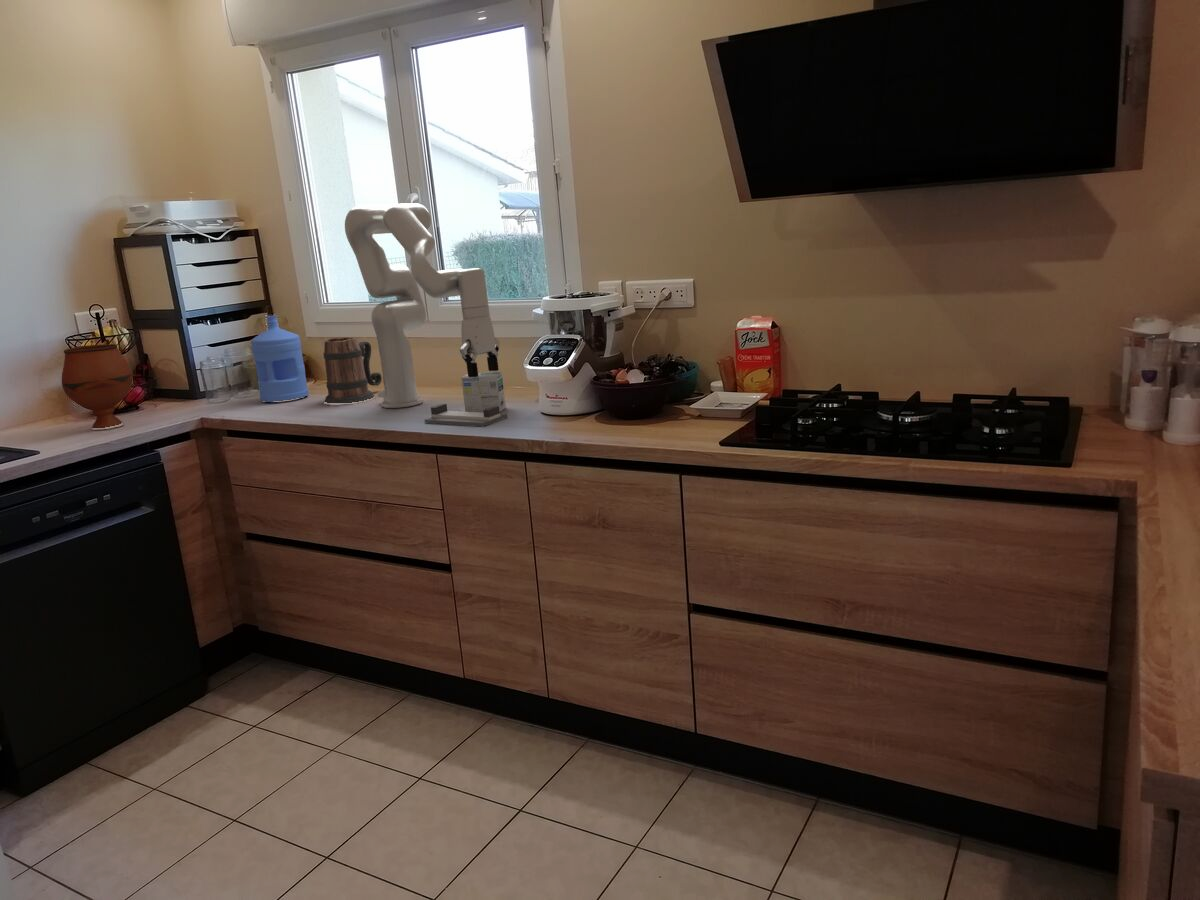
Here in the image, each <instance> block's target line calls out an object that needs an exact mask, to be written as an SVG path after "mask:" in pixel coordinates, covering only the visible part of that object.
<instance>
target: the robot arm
mask: <svg viewBox="0 0 1200 900" xmlns="http://www.w3.org/2000/svg"><path fill="white" fill-rule="evenodd" d="M430 214H431V213H430V212H429V210H428V209H427V208H426V207H425V205H423V204H420V203H417V202H416V203H414V202H413V203H411V202H410V203H393V204H392V203H389V204H387V203H384V204H382V203H381V204H361V205H358V206H355V207H353V208H351V209H350V210H349V211H348V213H347V214H346V216H345V220H344V231H345V236H346V239H347V242H348V243H349V245H350V248H351V250H352V252H353V253H354V255H355V259H356V261H357V265H358V268H359V270H360V274H361V276H362V280H363V283H364V285H365V288H366V291H367V293H368V295H370V297H372V298H374V299H385V298H386V299H388V298H394V297H395V298H396V299H395V300H388V301H383V302H380V303H378V304H377V305H376V306H374V307H373V309H372V311H371V318H370V319H371V324H372V326H373V330H374V333H375V335H376V339H377V340H376V341H377V344H378V350H379V357H380V363H381V364H380V365H381V370H382V371H381V373H382V378H383V379H382V381H383V386H384V390H380V391H379V392H378V393H377V398H383V399H382V402H381V407H382V408H386V409H400V408H401V409H402V408H409V407H413V406H418V405H420V404H422V403H423V401H424V399H423V397H421V396H418V392H417V383H416V375H415V367H414V359H413V352H412V345H411V343H410V340H409V339H408V337H407V335H405V332H407V331H412V330H416V329H420V328H421V327H422V326H423V325H424V324H425V322H426V318H427V311H426V308H425V304H424V301H423V298H422V295H421V291H420V289H419V286H420V288H421V289H422V290H423V291H424V292H425V293H426V294H427V295H429V296H430V297H431V298H433V299H444V298H445V299H446V298H450V297H451V298H453V297H459V299H460V304H461V305H460V307H461V312H462V313H461V314H462V320H461V347H460V348H459V353H460V355H461V357H462V359H463V360H464V363H465V364H466V369H467V370H466V371H467V374H468V377H478V373H479V369H478V364H477V363H478V362H476V359H477V356H479V355H483V354H486V356H487V357H486V361H487V369H488V371H489V372H499V369H500V368H499V362H498V361H499V360H498V356H499V354H498V353H499V351H500V348H499V347H500V340H499V339H498V338H497V337H495V331H494V327H493V323H492V319H491V316H490V307H489V306H490V305H489V300H488V298H489V297H488V292H487V284H486V283H487V282H486V275H485V271H484V270H483V269H482V268H481V267H480V268H479V267H474V268H473V267H472V268H454V269H453V268H452V269H442V270H436V269H435V267H433V265H432V264H431V263H430V262H429V260H428V258H427V257H428V256H429V254H430V253H432V251H433V250H434V247H435V245H436V242H435V238H434V236H433V235H432V234H431V233H430V232H429V231H428V229H430V226H431V224H432V223H431V221H432V217H431V215H430ZM379 234H380V235H382V234H392V236H393V237H394V238H395V239H396V241H397V242H398V243H399V245H401V247H402V248H403V249H404V250H405V252H406V253H407V254H408V255H409V266H410V268H409V267H408V266H406V265H404V264H399V263H398V264H397V263H396V264H389V261H388V259H387V256H386V253H385V250H384V248H383V246H382V245H381V244H380V243H379V242H378V240H376V239H375V238H374V235H379Z"/></svg>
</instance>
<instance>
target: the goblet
mask: <svg viewBox="0 0 1200 900" xmlns="http://www.w3.org/2000/svg"><path fill="white" fill-rule="evenodd" d="M63 353H64V360H63V367H62V372H61V387H62V390H63V392H64V393H65V395H66V396H67V397H68V398H69V399H71V400H72V401H73V402H74V403H76V404H77V405H78V406H80V407H83V408H85V409H87V410H89V411H92V415H94V416H95V417H96V419H95V421H94V423H93V424H92V427H91V429H92V428H105V427H110V426H115V425H119V424H121V423H122V422H123V421H122V420H120V418H118V417H116V416H115V414H114V412H115V407H116V406H117V405H119V404H120V403H121V402H122V401H123V400H125V398H126V397H127V396H128V394H129V392H130V390H131V389H132V387H133V380H134V376H133V372H132V370H131V369H132V368H131V367H130V365H129V363H128V362H127V360H126V358H125V357H124V356H123V354H122V352H121V351H120V350H119V347H118V344H115V343H114V344H113V343H112V344H111V343H110V344H108V343H105V344H92V345H91V344H89V345H82V346H74V347H70V348H67V349H64V350H63Z"/></svg>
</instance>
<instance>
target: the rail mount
mask: <svg viewBox="0 0 1200 900" xmlns="http://www.w3.org/2000/svg"><path fill="white" fill-rule="evenodd" d="M430 412H431V415H430V416H431V417H428V418H425V419H424V423H425V422H427V423H426V424H430V423H441V424H440V425H447V424H454V425H453V426H464V425H474V426H473V427H481V426H484V427H486V426H488V425H487V424H489V425H491V424H490V423H492V424H494V423H496V421H497V422H499V421H502V420H504V419H507V418H508V414H507V413H501V412H499V406H493V407H490V408H487V409H484V410H483V413H481V412H465V411H460V410H459V411H458V410H457V411H456V410H455V411H454V410H448V406H447V403H441V404H437V405H435V406H431V407H430ZM506 417H507V418H506ZM503 418H504V419H503ZM501 419H502V420H501ZM498 420H499V421H498ZM428 422H429V423H428ZM493 422H494V423H493ZM455 424H456V425H455ZM485 425H486V426H485Z"/></svg>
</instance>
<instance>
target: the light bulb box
mask: <svg viewBox="0 0 1200 900" xmlns="http://www.w3.org/2000/svg"><path fill="white" fill-rule="evenodd" d="M461 387H462V393H463V394H462V395H463V403H464V412H481V413H483V410H484V409H487V408H490V407H493V406H499V412H500V413H501V412H502V411H503V410H505V409H506V399H505V390H504V380H503V372H502V371H490V372H478V377H468V373H466V374H465V375H463V376H461Z"/></svg>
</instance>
